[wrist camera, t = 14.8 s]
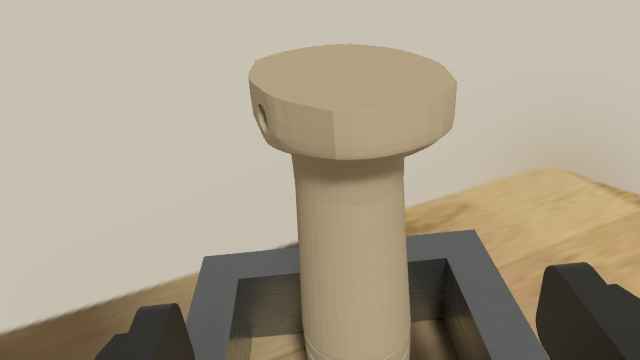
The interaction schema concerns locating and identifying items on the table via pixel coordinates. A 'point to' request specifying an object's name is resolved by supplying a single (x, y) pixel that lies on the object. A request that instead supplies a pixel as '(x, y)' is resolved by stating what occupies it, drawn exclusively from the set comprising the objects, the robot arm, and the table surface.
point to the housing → (424, 294)
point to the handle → (352, 182)
